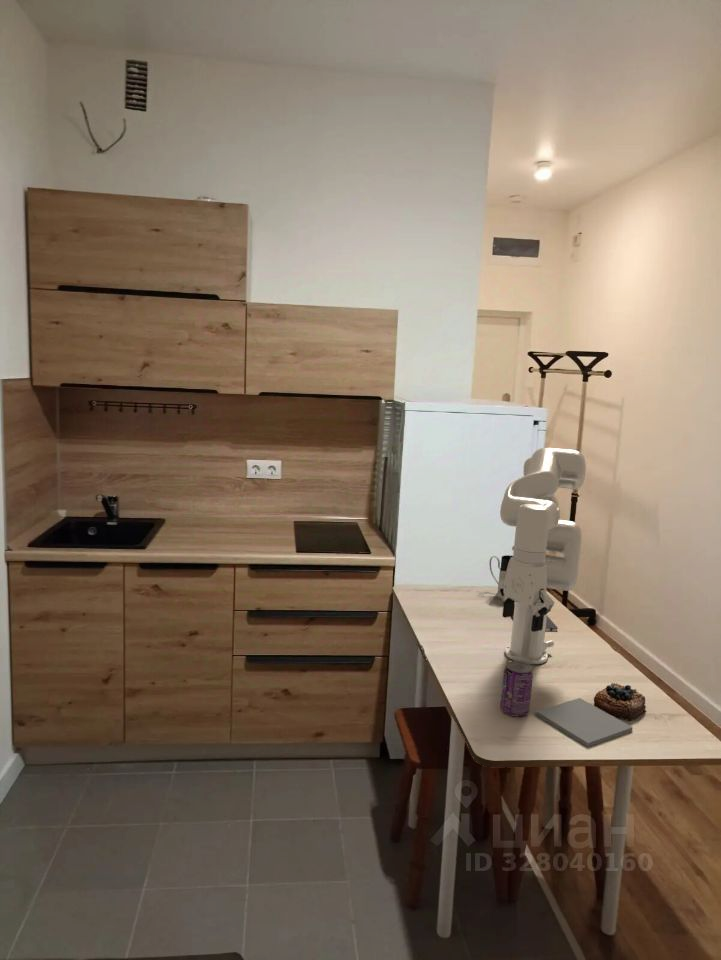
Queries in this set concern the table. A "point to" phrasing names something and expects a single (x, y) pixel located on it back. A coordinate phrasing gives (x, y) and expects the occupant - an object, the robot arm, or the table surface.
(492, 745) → the table surface
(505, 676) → the beverage can
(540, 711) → the mat
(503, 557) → the white and black pitcher
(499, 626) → the table surface
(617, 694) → the pastry
